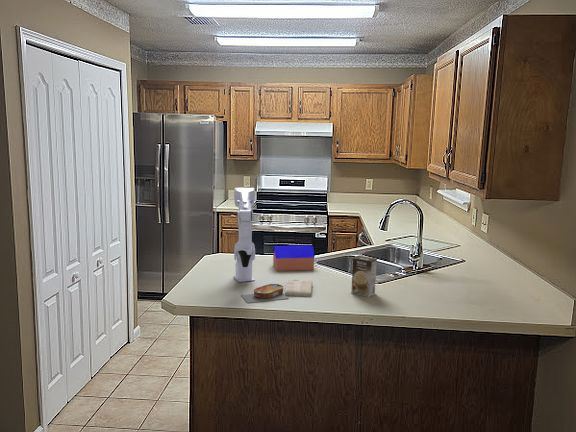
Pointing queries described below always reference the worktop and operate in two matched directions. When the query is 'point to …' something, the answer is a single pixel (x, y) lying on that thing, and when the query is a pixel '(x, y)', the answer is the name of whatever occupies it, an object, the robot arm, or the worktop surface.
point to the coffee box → (364, 276)
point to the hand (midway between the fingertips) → (245, 266)
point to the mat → (252, 299)
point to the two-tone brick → (293, 257)
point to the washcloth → (298, 288)
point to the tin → (268, 291)
